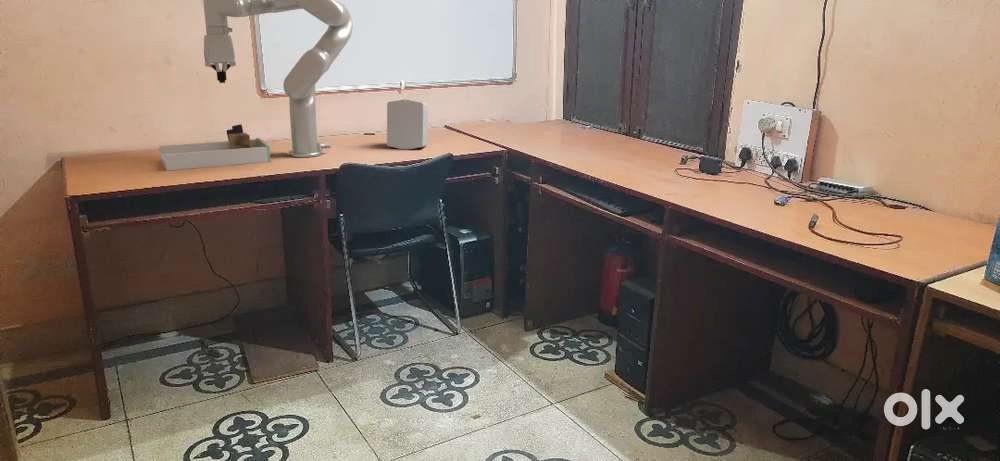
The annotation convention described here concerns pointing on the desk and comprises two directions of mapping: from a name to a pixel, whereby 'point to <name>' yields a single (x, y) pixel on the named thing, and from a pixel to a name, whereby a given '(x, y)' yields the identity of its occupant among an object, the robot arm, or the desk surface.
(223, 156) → the shallow grey tray
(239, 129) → the speaker
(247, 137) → the block
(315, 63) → the robot arm
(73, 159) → the desk surface
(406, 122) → the grey upright faceted block
